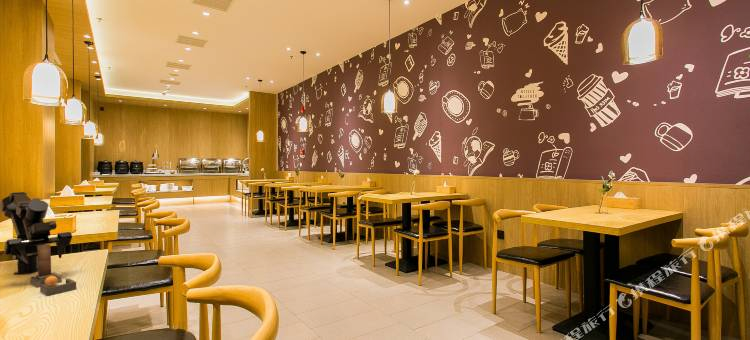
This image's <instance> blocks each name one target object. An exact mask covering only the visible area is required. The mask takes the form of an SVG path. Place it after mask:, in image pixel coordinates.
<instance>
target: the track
mask: <svg viewBox="0 0 750 340" xmlns="http://www.w3.org/2000/svg"><path fill="white" fill-rule="evenodd" d="M52 273H53V274H55V277H57V278H58V282H57V283H56V284H59V283H62V281H63V280H62V279H63V278H62V275H60V274H58V273H57V272H55V271H54V272H52ZM29 278H30V279H29V280H30V281H29V283H30V284H31V285H32V286H34V287H36V288H40V280H39V279H37V278H36V277H35V276H34V275H33V276H30V277H29ZM43 284H45V283H43ZM45 285H46V284H45Z"/></svg>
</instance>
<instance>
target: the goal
mask: <svg viewBox="0 0 750 340" xmlns="http://www.w3.org/2000/svg"><path fill="white" fill-rule="evenodd" d="M39 290H40V291H39V292H40V293H42V294H43V295H44V296H46V297H48V296H49V297H50V296H53V295H57V294H61V293H65V292H71V291H74V290H77V282H76V281H75V280H73V279H71V278H70V277H69V278H68V277H67V278H65V283H62V284H58V285H54V286H47V285H45V284H40V287H39Z"/></svg>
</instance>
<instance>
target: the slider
mask: <svg viewBox="0 0 750 340" xmlns="http://www.w3.org/2000/svg"><path fill="white" fill-rule="evenodd" d="M37 249H38V271H37V273H38V274H35V276H34V277H36V278H37V279H39V280H40V284H43V283H45V280H46V278H48V277H50V276H55V274H53V272H52V260H51V259H52V256H51V255H52V253H51V250H52V249H51V244H45V245H39V246H37Z"/></svg>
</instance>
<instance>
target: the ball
mask: <svg viewBox="0 0 750 340" xmlns="http://www.w3.org/2000/svg"><path fill="white" fill-rule="evenodd" d="M57 282H58V278H57V277H55V276H50V277H48V278H46V280H45V284H46V285H47V286H48V287H53V286H56V284H58V283H57Z"/></svg>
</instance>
